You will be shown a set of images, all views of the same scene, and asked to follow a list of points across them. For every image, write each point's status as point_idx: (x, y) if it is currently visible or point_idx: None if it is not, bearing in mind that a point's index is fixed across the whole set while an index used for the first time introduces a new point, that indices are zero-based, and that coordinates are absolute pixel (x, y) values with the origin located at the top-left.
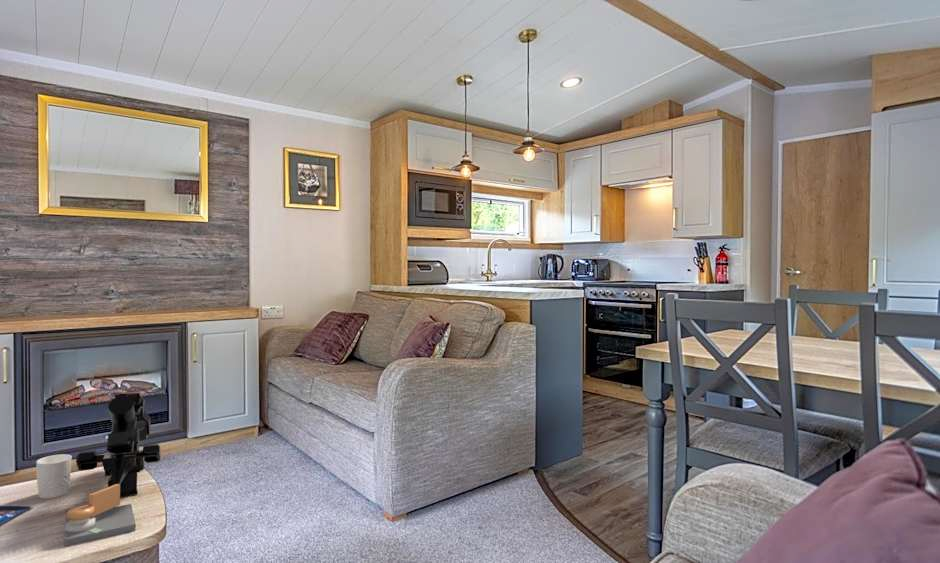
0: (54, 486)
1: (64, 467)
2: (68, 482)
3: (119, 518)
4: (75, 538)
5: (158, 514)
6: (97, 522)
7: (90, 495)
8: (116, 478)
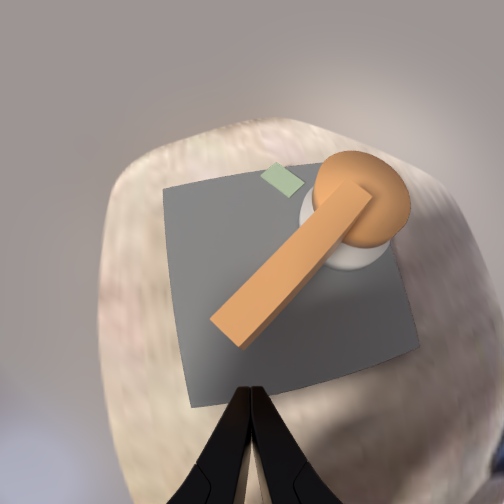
0: None
1: None
2: None
3: (218, 256)
4: None
5: (100, 303)
6: None
7: (362, 193)
8: (254, 429)
